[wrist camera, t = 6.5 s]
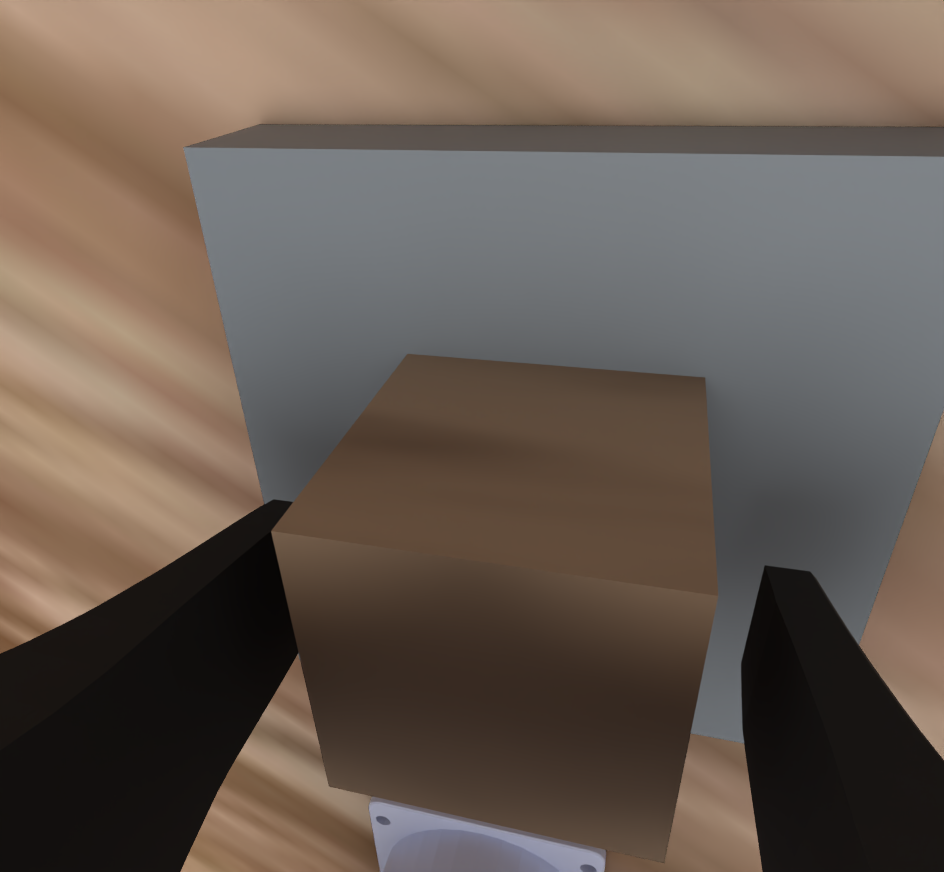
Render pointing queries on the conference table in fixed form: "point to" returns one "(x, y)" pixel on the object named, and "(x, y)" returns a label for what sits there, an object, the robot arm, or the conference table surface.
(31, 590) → the conference table surface
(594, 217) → the base slab
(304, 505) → the walnut cube
